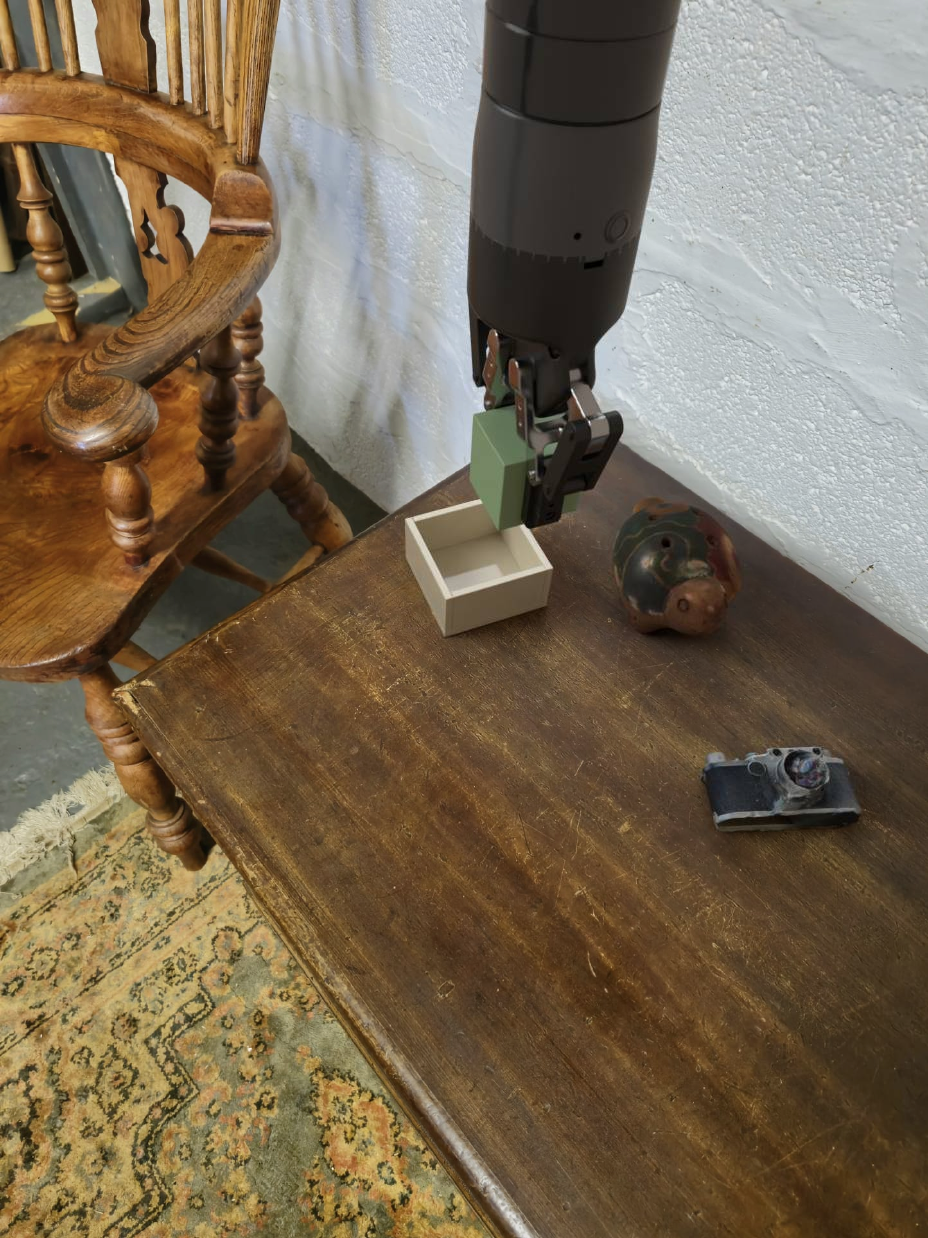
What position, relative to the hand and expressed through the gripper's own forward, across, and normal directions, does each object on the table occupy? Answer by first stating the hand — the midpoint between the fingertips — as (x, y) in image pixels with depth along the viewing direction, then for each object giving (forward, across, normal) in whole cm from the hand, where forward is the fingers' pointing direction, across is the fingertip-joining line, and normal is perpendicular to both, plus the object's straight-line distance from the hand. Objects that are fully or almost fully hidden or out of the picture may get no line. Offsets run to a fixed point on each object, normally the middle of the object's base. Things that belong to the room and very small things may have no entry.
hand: (521, 491), depth 50 cm
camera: (+18, +17, +13) cm, 28 cm away
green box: (0, 0, 0) cm, 0 cm away
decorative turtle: (+18, -1, +15) cm, 23 cm away
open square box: (+18, -8, +1) cm, 19 cm away
